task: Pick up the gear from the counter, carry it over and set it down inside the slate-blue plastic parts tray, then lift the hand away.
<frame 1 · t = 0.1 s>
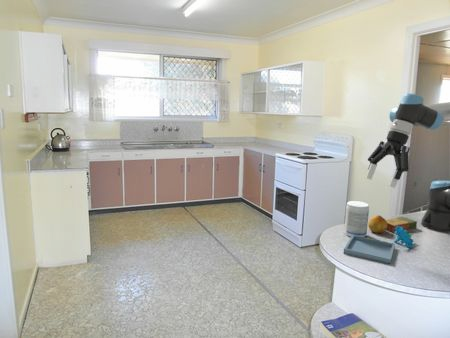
hand: (379, 182, 143), 28 cm above the countertop, tool tilted 20°, fingers open, 13 cm apart
parts tray: (369, 250, 145), on the countertop
supplement tub: (354, 235, 162), on the countertop
gear: (403, 245, 152), on the countertop
fruit: (376, 231, 166), on the countertop
carton: (397, 229, 171), on the countertop
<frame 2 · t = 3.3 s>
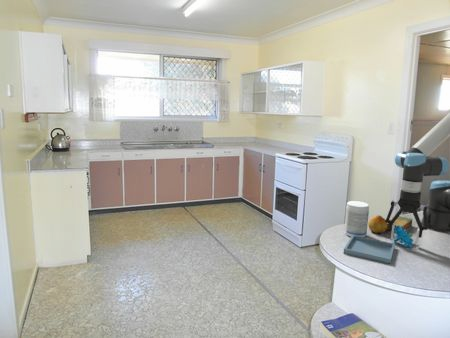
hand: (403, 241, 152), 1 cm above the countertop, tool pointing down, fingers open, 9 cm apart
gear: (402, 244, 152), on the countertop, touching gripper
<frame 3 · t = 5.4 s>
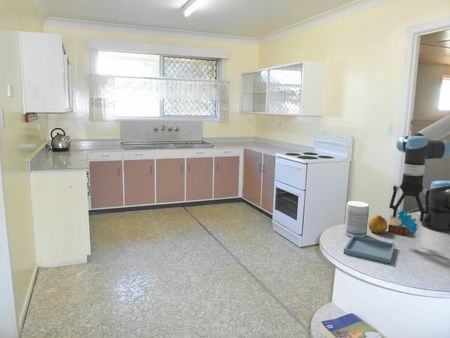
hand: (406, 226, 150), 8 cm above the countertop, tool pointing down, fingers closed on gear, 7 cm apart
gear: (407, 229, 151), point 7 cm above the countertop, touching gripper
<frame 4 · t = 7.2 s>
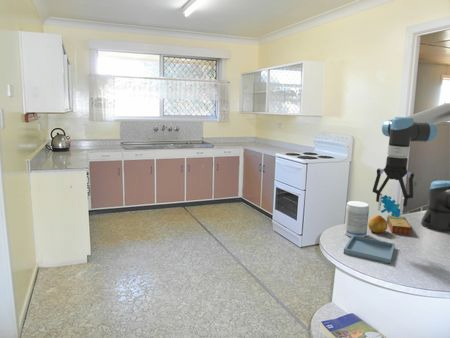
hand: (389, 211, 145), 16 cm above the countertop, tool pointing down, fingers closed on gear, 7 cm apart
gear: (390, 215, 145), point 14 cm above the countertop, touching gripper
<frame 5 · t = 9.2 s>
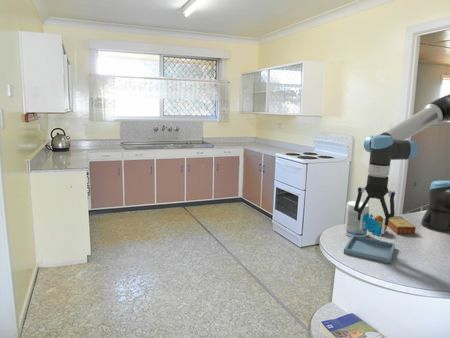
hand: (371, 230, 143), 9 cm above the countertop, tool pointing down, fingers closed on gear, 7 cm apart
gear: (372, 233, 143), point 7 cm above the countertop, touching gripper
when the fingers open (3 cm above the countertop, at t = 11.1 s): gear stays where it is, resting on parts tray.
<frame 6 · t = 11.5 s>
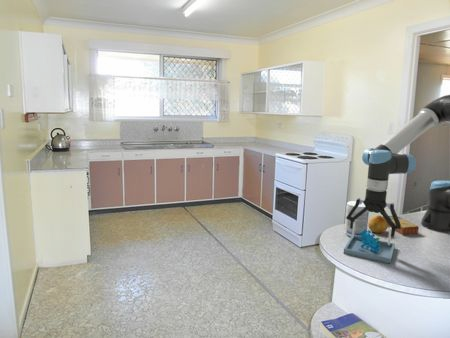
hand: (370, 240, 144), 5 cm above the countertop, tool pointing down, fingers open, 13 cm apart
gear: (370, 249, 145), resting on parts tray
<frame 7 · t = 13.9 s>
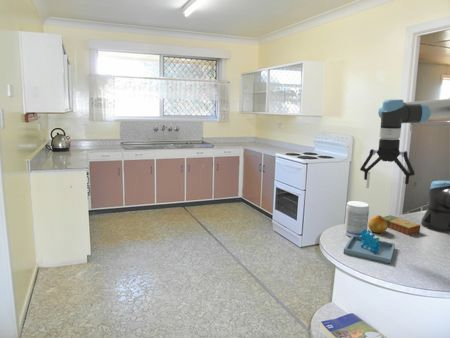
hand: (385, 189, 147), 24 cm above the countertop, tool pointing down, fingers open, 13 cm apart
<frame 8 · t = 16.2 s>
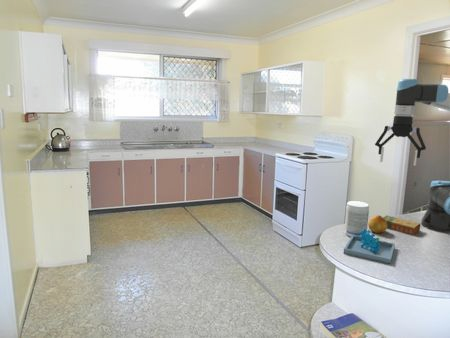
hand: (397, 163, 159), 33 cm above the countertop, tool pointing down, fingers open, 13 cm apart
at the end: gear inside the target area on the parts tray (0.5 cm from its centre), point 0.3 cm above the parts tray's base; the gripper is holding nothing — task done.
